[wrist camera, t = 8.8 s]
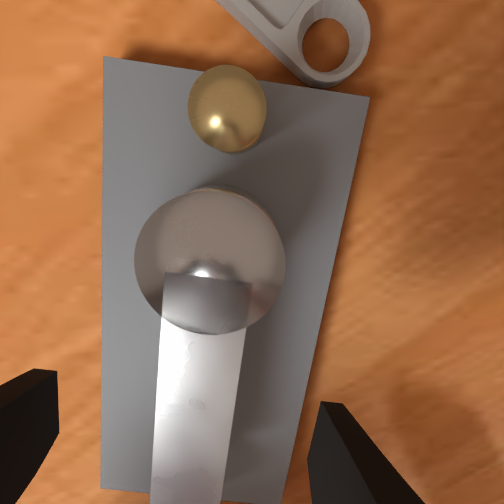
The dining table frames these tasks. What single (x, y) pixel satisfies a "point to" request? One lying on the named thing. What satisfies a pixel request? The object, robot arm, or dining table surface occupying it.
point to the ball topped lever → (203, 326)
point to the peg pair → (227, 109)
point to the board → (291, 234)
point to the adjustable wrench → (303, 32)
